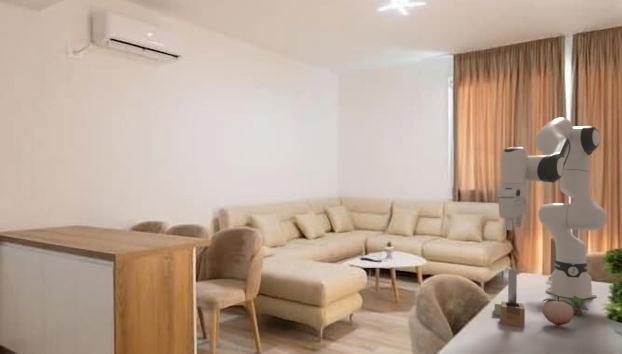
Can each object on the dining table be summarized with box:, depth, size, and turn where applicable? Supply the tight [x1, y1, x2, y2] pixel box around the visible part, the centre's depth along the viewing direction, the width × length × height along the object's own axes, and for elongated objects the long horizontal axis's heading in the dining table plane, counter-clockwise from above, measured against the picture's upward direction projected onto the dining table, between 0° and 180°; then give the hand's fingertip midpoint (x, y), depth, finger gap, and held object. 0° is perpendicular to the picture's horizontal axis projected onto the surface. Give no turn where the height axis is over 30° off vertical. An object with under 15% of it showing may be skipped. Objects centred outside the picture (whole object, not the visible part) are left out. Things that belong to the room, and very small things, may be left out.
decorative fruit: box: [542, 295, 575, 327], centre depth 145 cm, size 9×8×10 cm
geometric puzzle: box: [568, 296, 589, 318], centre depth 158 cm, size 7×7×8 cm
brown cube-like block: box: [500, 301, 526, 328], centre depth 149 cm, size 7×7×6 cm
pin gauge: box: [507, 268, 518, 307], centre depth 149 cm, size 3×3×16 cm
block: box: [494, 298, 508, 317], centre depth 159 cm, size 7×7×4 cm
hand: (514, 228), depth 160 cm, fingers open, 8 cm apart
